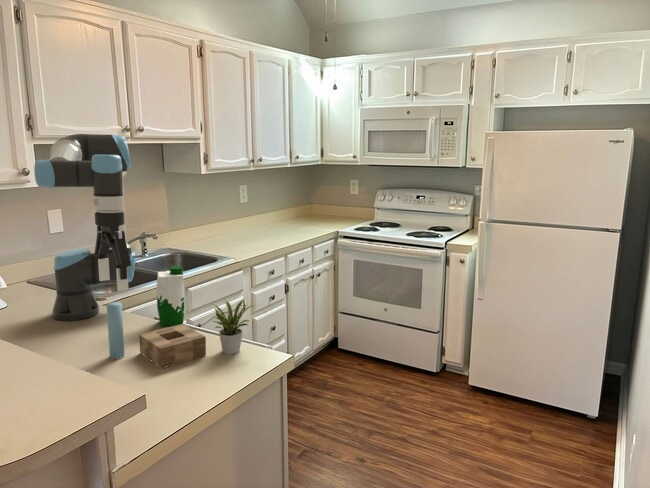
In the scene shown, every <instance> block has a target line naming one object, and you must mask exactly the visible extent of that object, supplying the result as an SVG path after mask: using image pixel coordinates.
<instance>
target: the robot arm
mask: <svg viewBox="0 0 650 488" xmlns="http://www.w3.org/2000/svg"><path fill="white" fill-rule="evenodd" d="M49 155H50V157H49V159H47V158H46V159H38V160H35V162H34V167H33V169H34V172H33V173H34V178H35V179H34V180H35V184H36V185H37V186H38V187H42V188H50V189H52V188H93V199H92V200H91V202H92V204H93V206H94V207H93V208H94V210H95V212H94V224H95V226H96V237H95V238H96V239H95V241H96V242H95V246H94V247H95V248H94V252H92V251H91V250H90V249H89V248H88V249H87V248H79V249H72V250H67V251H64V252H61V253H59V254H57V255H56V256H55V257H54V261H53V262H54V267H53V270H54V277H55V290H56V296H55V300H54V303H53V307H52V310H51V312H52V318H53V319H54V320H57V321H64V322H65V321H66V322H71V321H73V322H74V321H80V320H85V319H88V318H92V317H95V316H97V315H98V314H100V305H99V303H98V301H97V298H96V297H95V294H94V292H93V286H100V285H103V286H104V285H113V284H116V285H117V286H116V288H117V290H116V291H117V292H123V291H128V290H129V283H130V282H132V281H133V279H134V275H135V267H136V251H134V250H132V246H131V245H130V244H129V243H128V242H127V228H126V210H125V206H126V205H125V189H124V177H125V176H126V174H128V169H129V168H131V167H132V162H131V156H130V150H129V146H128V142H127V139H126V137H125V136H123V135H116V134H95V133H93V134H92V133H75V134H70V135H67V136H63V137H61V138H59V139H58V140H56V141H55V142H53V144H52V146H51V147H50V152H49Z"/></svg>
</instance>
